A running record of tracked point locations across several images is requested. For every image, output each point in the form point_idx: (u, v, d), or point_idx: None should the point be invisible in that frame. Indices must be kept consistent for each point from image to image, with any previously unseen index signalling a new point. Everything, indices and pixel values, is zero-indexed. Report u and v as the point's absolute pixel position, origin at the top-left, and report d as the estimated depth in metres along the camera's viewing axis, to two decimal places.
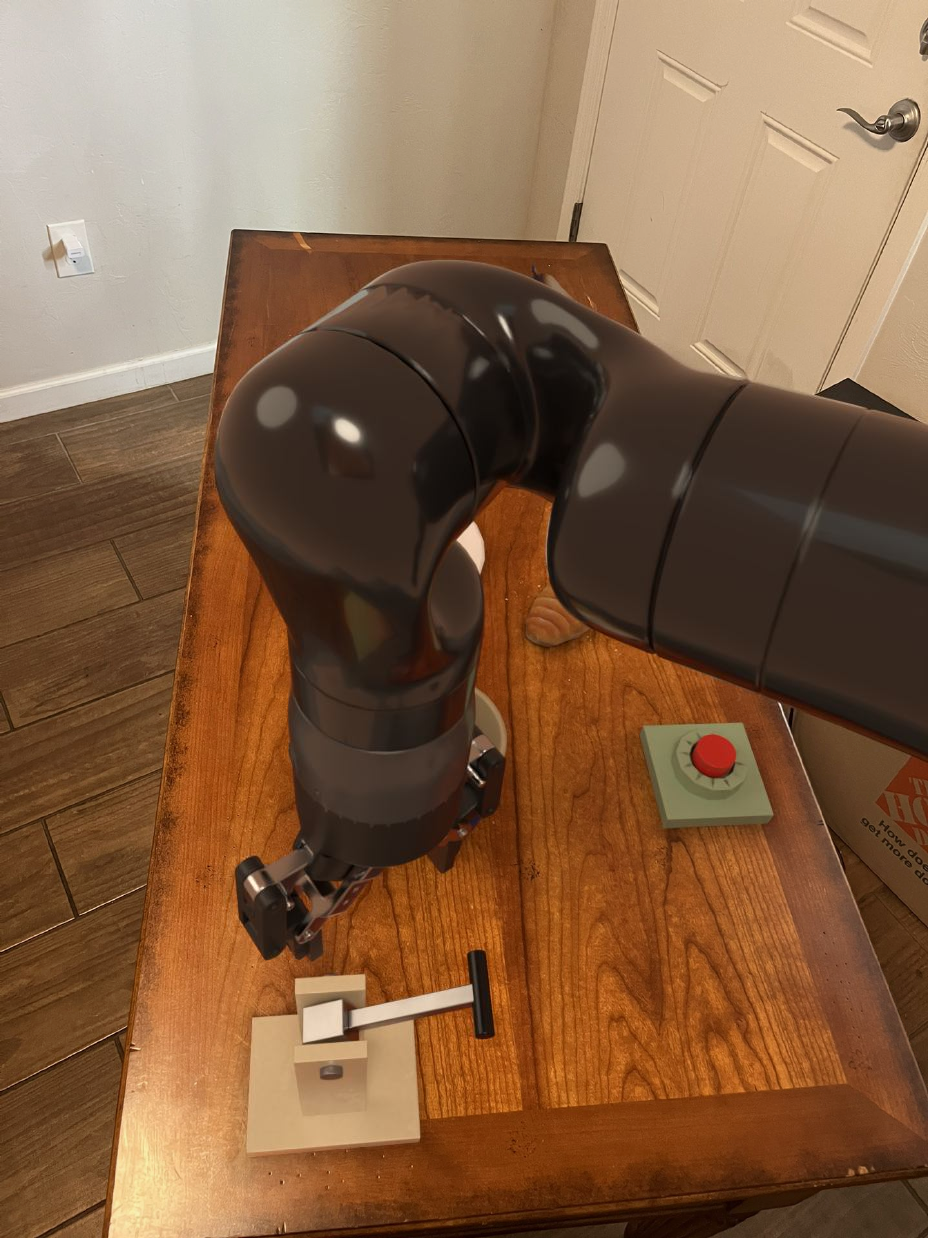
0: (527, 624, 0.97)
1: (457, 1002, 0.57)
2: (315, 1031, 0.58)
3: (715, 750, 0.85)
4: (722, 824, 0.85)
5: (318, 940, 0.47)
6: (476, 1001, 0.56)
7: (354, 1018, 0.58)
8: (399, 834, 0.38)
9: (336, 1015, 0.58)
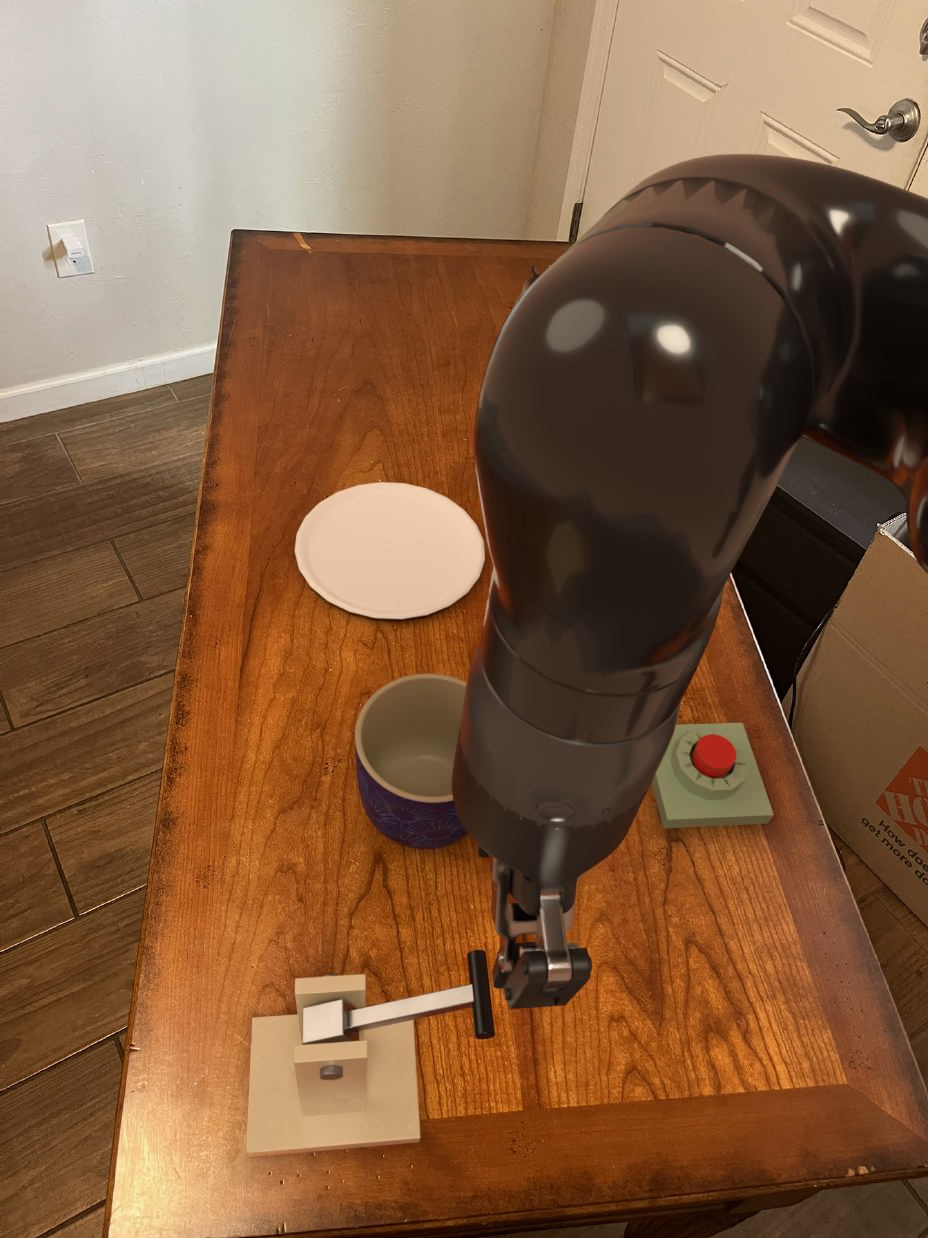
0: None
1: (457, 1002, 0.57)
2: (315, 1031, 0.58)
3: (715, 750, 0.85)
4: (722, 824, 0.85)
5: None
6: (476, 1001, 0.56)
7: (354, 1018, 0.58)
8: None
9: (336, 1015, 0.58)
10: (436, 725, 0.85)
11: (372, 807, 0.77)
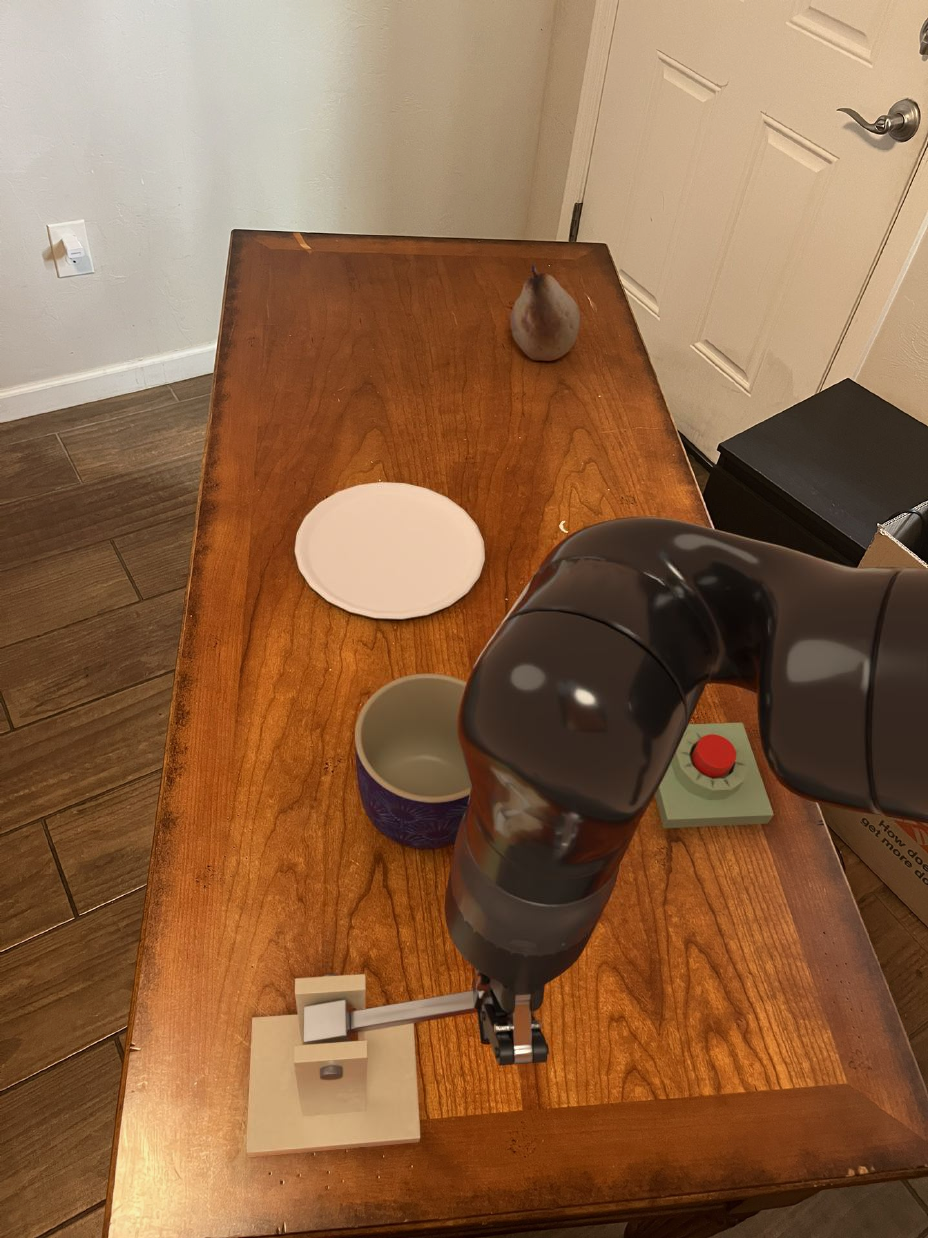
0: None
1: (462, 1007, 0.58)
2: (317, 1030, 0.58)
3: (715, 750, 0.85)
4: (722, 824, 0.85)
5: None
6: None
7: (356, 1019, 0.59)
8: None
9: (339, 1015, 0.58)
10: (436, 725, 0.85)
11: (372, 807, 0.77)
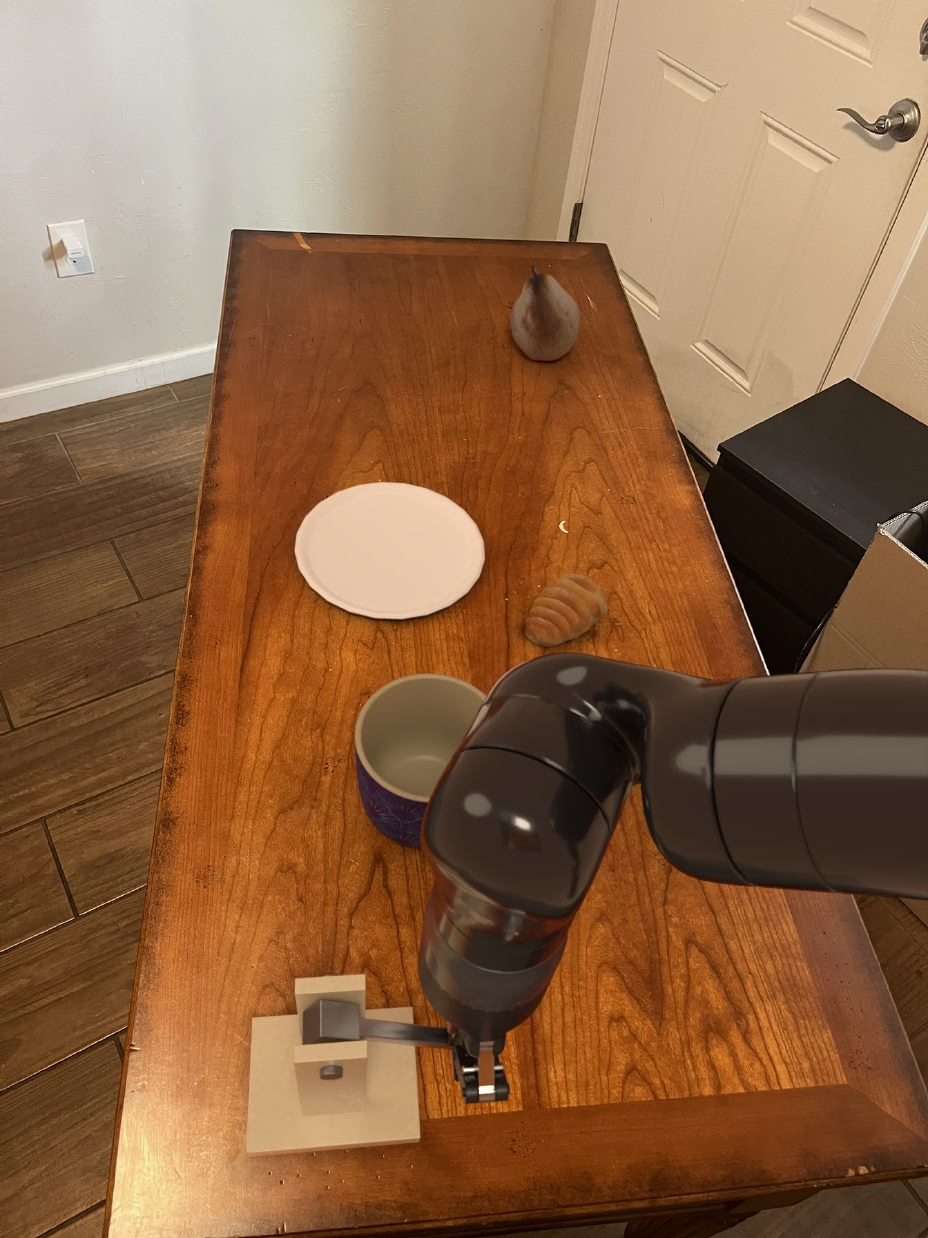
0: (527, 624, 0.97)
1: (447, 1042, 0.63)
2: (334, 1028, 0.58)
3: None
4: None
5: None
6: None
7: (360, 1026, 0.60)
8: None
9: (354, 1019, 0.59)
10: (436, 725, 0.85)
11: (372, 807, 0.77)
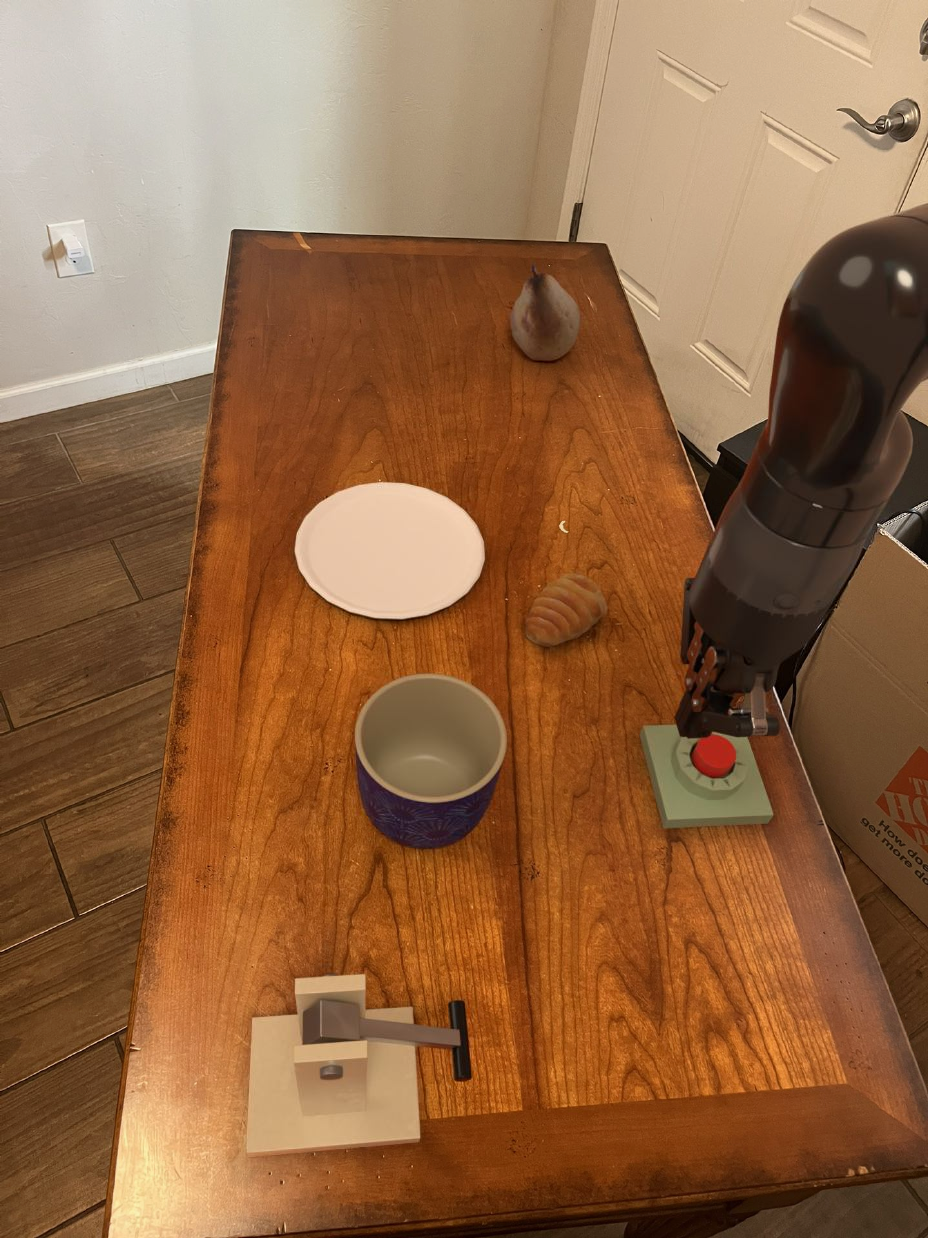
0: (527, 624, 0.97)
1: (447, 1042, 0.63)
2: (334, 1028, 0.58)
3: (715, 750, 0.85)
4: (722, 824, 0.85)
5: None
6: (463, 1046, 0.63)
7: (360, 1026, 0.60)
8: None
9: (354, 1019, 0.59)
10: (436, 725, 0.85)
11: (372, 807, 0.77)
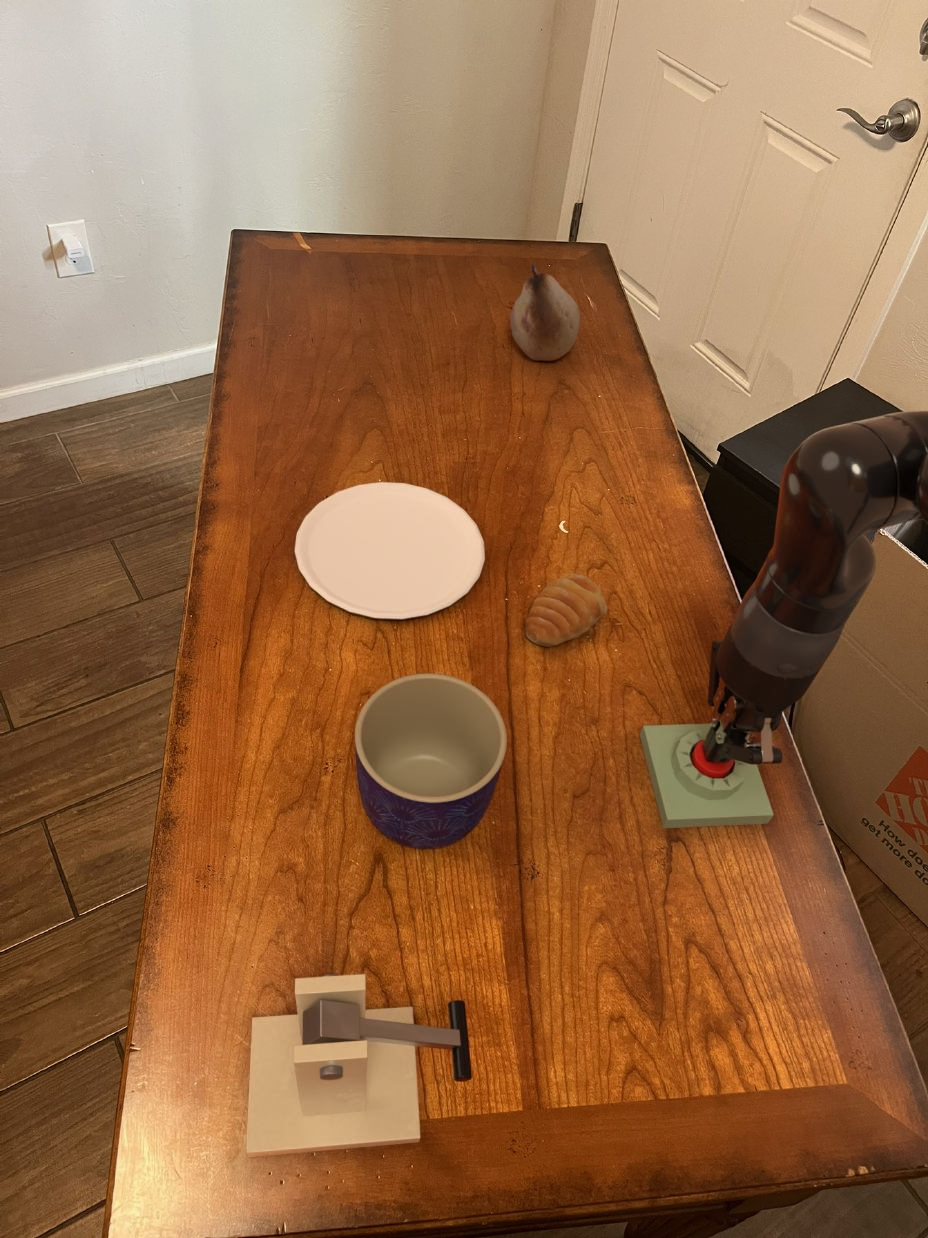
0: (527, 624, 0.97)
1: (447, 1042, 0.63)
2: (334, 1028, 0.58)
3: None
4: (722, 824, 0.85)
5: None
6: (463, 1046, 0.63)
7: (360, 1026, 0.60)
8: None
9: (354, 1019, 0.59)
10: (436, 725, 0.85)
11: (372, 807, 0.77)
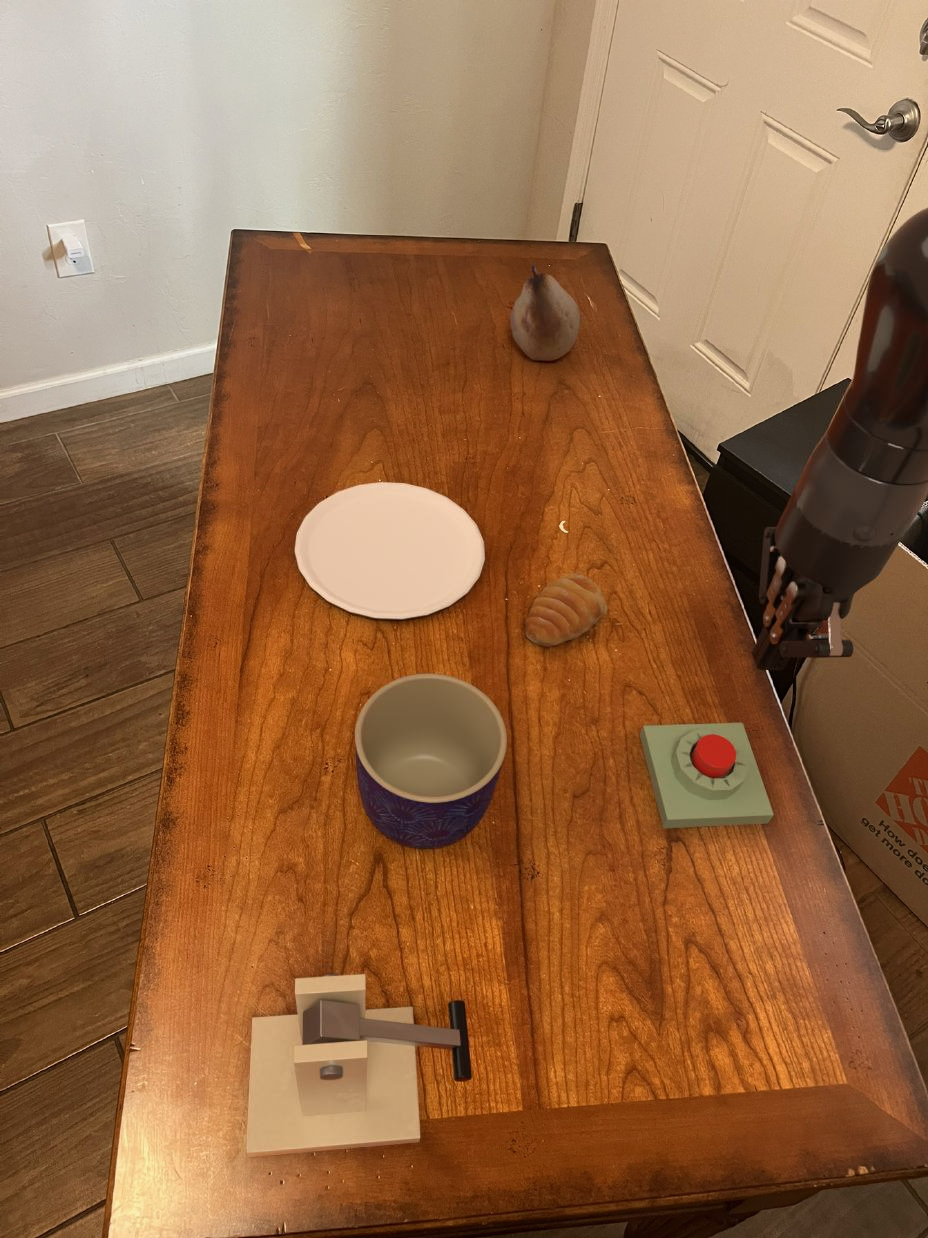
0: (527, 624, 0.97)
1: (447, 1042, 0.63)
2: (334, 1028, 0.58)
3: (715, 750, 0.85)
4: (722, 824, 0.85)
5: None
6: (463, 1046, 0.63)
7: (360, 1026, 0.60)
8: None
9: (354, 1019, 0.59)
10: (436, 725, 0.85)
11: (372, 807, 0.77)
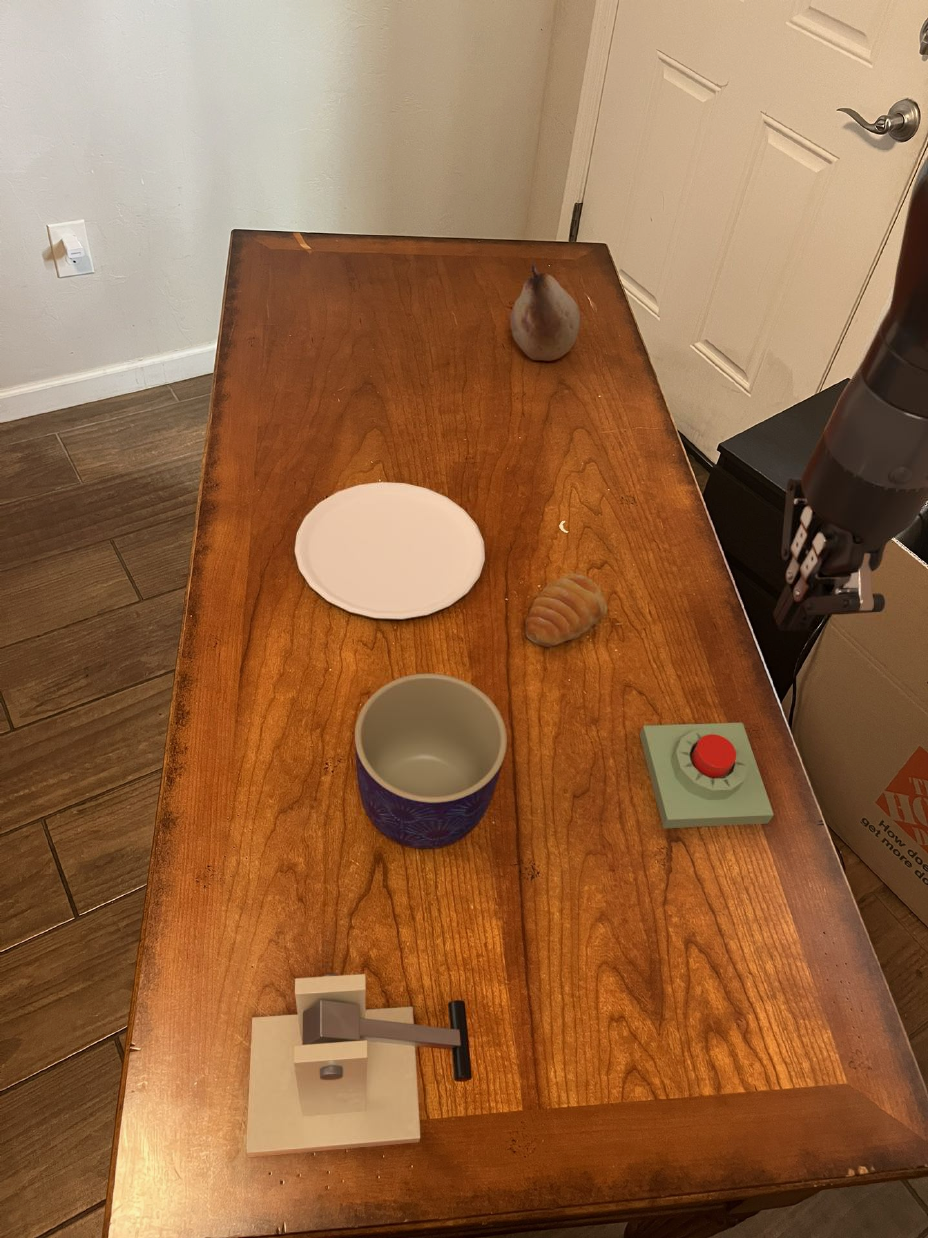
0: (527, 624, 0.97)
1: (447, 1042, 0.63)
2: (334, 1028, 0.58)
3: (715, 750, 0.85)
4: (722, 824, 0.85)
5: None
6: (463, 1046, 0.63)
7: (360, 1026, 0.60)
8: None
9: (354, 1019, 0.59)
10: (436, 725, 0.85)
11: (372, 807, 0.77)
